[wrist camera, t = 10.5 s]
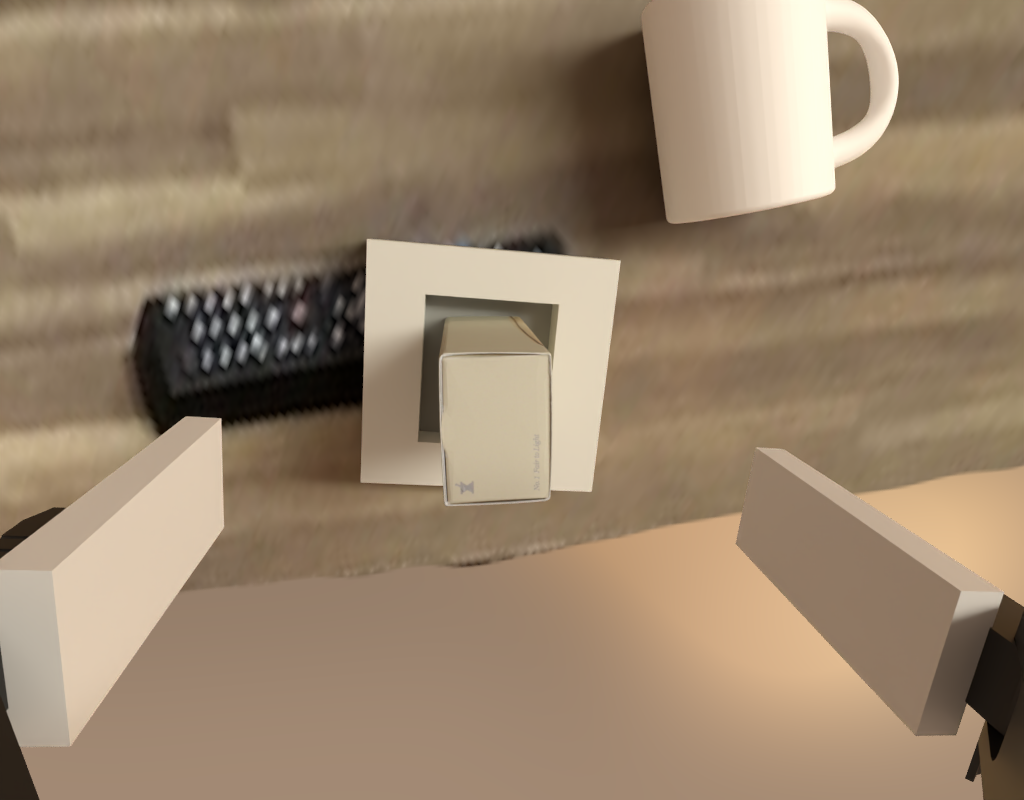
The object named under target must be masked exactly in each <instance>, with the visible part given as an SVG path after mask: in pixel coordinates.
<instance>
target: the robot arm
mask: <svg viewBox="0 0 1024 800" xmlns="http://www.w3.org/2000/svg"><path fill="white" fill-rule="evenodd" d="M223 528H224V509H223V470H222V430H221V418H205V417H187V416H186V417H185V418H183V419H182V420H181V421H179V422H178V423H177V424H175V425H174V426H173V427H171V428H170V429H169V430H168V431H166V432H165V433H164V434H162V435H161V436H160V437H158V438H157V439H156V440H155V441H153V442H152V443H151V444H149V445H148V446H147V447H145V448H144V449H143V450H141V451H140V452H139V453H138V454H136V455H135V456H134V457H132V458H131V459H130V460H128V461H127V462H126V463H125V464H123V465H122V466H121V467H119V468H118V469H117V470H115V471H114V472H113V473H111V474H110V475H109V476H108V477H106V478H105V479H104V480H102V481H101V482H100V483H98V484H97V485H96V486H94V487H93V488H92V489H91V490H89V491H88V492H87V493H85V494H84V495H83V496H81V497H80V498H79V499H78V500H76V501H75V502H74V503H72V504H71V505H70V506H68V507H67V508H52V509H49V510H47V511H44V512H42V513H39V514H37V515H35V516H32V517H30V518H27V519H25V520H23V521H21V522H20V523H18V524H17V525H16V526H14V527H13V528H11V529H10V530H9V531H7V532H6V533H4V534H3V535H2V537H1V539H0V800H39V797H38V795H37V792H36V789H35V787H34V784H33V781H32V779H31V776H30V773H29V771H28V768H27V765H26V762H25V760H24V757H23V755H22V752H21V749H20V747H66V746H67V747H68V746H71V745H72V743H73V742H74V741H75V739H76V738H77V736H78V735H79V733H80V732H81V731H82V729H83V728H84V726H85V725H86V723H87V722H88V721H89V719H90V718H91V716H92V715H93V714H94V712H95V710H96V709H97V707H98V706H99V705H100V704H101V702H102V701H103V699H104V698H105V696H106V695H107V693H108V692H109V691H110V689H111V688H112V686H113V685H114V683H115V682H116V681H117V679H118V678H119V676H120V675H121V674H122V672H123V671H124V669H125V668H126V666H127V665H128V664H129V662H130V661H131V659H132V658H133V656H134V655H135V654H136V652H137V651H138V649H139V648H140V646H141V645H142V644H143V642H144V641H145V639H146V638H147V637H148V635H149V634H150V632H151V631H152V629H153V628H154V627H155V625H156V624H157V622H158V621H159V619H160V618H161V616H162V615H163V613H164V612H165V611H166V609H167V608H168V607H169V605H170V604H171V602H172V601H173V599H174V598H175V597H176V595H177V594H178V592H179V591H180V589H181V588H182V587H183V585H184V584H185V582H186V581H187V579H188V578H189V577H190V575H191V574H192V572H193V571H194V569H195V568H196V567H197V565H198V564H199V562H200V561H201V560H202V558H203V557H204V555H205V554H206V552H207V551H208V550H209V548H210V547H211V545H212V544H213V542H214V541H215V540H216V538H217V537H218V535H219V534H220V532H221V531H222V530H223ZM736 544H737V546H738V547H739V548H740V549H741V550H742V551H743V552H744V553H745V554H746V555H747V556H748V557H749V558H750V560H751V561H752V562H753V563H754V564H755V565H756V566H757V567H758V568H759V569H760V570H761V571H762V572H763V573H764V574H765V575H766V577H767V578H768V579H769V580H770V581H771V582H772V583H773V584H774V585H775V586H776V587H777V588H778V589H779V590H780V592H781V593H782V594H783V595H784V596H785V597H786V598H787V599H788V600H789V601H790V602H791V603H792V604H793V605H794V607H796V609H797V610H798V611H799V612H800V613H801V614H802V615H803V616H804V617H805V618H806V619H807V620H808V621H809V623H810V624H811V625H812V626H813V627H814V628H815V629H816V630H817V631H818V632H819V633H820V634H821V635H822V636H823V637H824V639H825V640H826V641H827V642H828V643H829V644H830V645H831V646H832V647H833V648H834V649H835V650H836V651H837V652H838V654H839V655H840V656H841V657H842V658H843V659H844V660H845V661H846V662H847V663H848V664H849V665H850V666H851V667H852V668H853V670H854V671H855V672H856V673H857V674H858V675H859V676H860V677H861V678H862V679H863V680H864V681H865V682H866V683H867V684H868V686H869V687H870V688H871V689H872V690H873V691H874V692H875V693H876V694H877V695H878V696H879V697H880V698H881V699H882V700H883V702H884V703H885V704H886V705H887V706H888V707H889V708H890V709H891V710H892V711H893V712H894V713H895V714H896V715H897V717H898V718H899V719H900V720H901V721H902V722H903V723H904V724H905V725H906V726H907V727H908V728H909V729H910V730H911V731H912V732H913V734H914V735H916V736H928V735H929V736H931V735H956V734H957V731H958V728H959V725H960V722H961V719H962V716H963V713H964V710H965V707H966V704H968V705H970V706H971V707H972V708H973V709H974V710H975V711H976V712H977V713H979V714H980V715H981V716H982V717H983V718H984V719H985V723H984V726H983V729H982V732H981V735H980V737H979V740H978V743H977V746H976V749H975V752H974V755H973V757H972V760H971V763H970V766H969V769H968V772H967V775H966V777H965V778H966V779H968V780H970V781H972V782H973V781H974V779H975V777H976V775H978V774H981V777H982V787H983V799H984V800H1024V607H1023V606H1021V605H1020V604H1018V603H1017V602H1015V601H1014V600H1012V599H1011V598H1009V597H1008V596H1006V595H1004V592H1003V591H1002V590H1000V589H999V588H997V587H996V586H994V585H992V584H991V583H989V582H988V581H986V580H985V579H983V578H982V577H980V576H979V575H977V574H975V573H974V572H972V571H971V570H969V569H968V568H966V567H965V566H963V565H962V564H960V563H959V562H957V561H955V560H954V559H952V558H951V557H949V556H948V555H946V554H945V553H943V552H942V551H940V550H938V549H937V548H935V547H934V546H932V545H931V544H929V543H928V542H926V541H925V540H923V539H921V538H920V537H918V536H917V535H915V534H914V533H912V532H911V531H909V530H908V529H906V528H905V527H903V526H901V525H900V524H898V523H897V522H895V521H894V520H892V519H891V518H889V517H888V516H886V515H884V514H883V513H881V512H880V511H878V510H877V509H875V508H874V507H872V506H871V505H869V504H867V503H866V502H864V501H863V500H861V499H860V498H858V497H857V496H855V495H854V494H852V493H850V492H849V491H847V490H846V489H844V488H843V487H841V486H840V485H838V484H837V483H835V482H834V481H832V480H830V479H829V478H827V477H826V476H824V475H823V474H821V473H820V472H818V471H817V470H815V469H813V468H812V467H810V466H809V465H807V464H806V463H804V462H803V461H801V460H800V459H798V458H796V457H795V456H793V455H792V454H790V453H789V452H787V451H786V450H784V449H775V448H756V449H755V453H754V458H753V463H752V468H751V473H750V478H749V482H748V487H747V492H746V497H745V502H744V507H743V511H742V516H741V521H740V526H739V531H738V536H737V541H736Z"/></svg>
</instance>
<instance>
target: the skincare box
mask: <svg viewBox="0 0 1024 800" xmlns="http://www.w3.org/2000/svg"><path fill="white" fill-rule="evenodd" d="M439 419H440V442H441V463H442V478H443V494H444V504H445V506H466V505H492V504H513V503H527V502H540V501H547V500H549V498H550V491H551V475H552V359H551V354H550V353H549V351H548V350H547V349H546V348H545V347H544V346H543V344H542V343H541V342H540V341H539V339H538V338H537V337H536V336H535V335H534V333H533V332H532V331H531V330H530V329H529V327H528V326H527V325H526V324H525V323H524V321H523V320H522V319H521V318H520V317H518V316H460V317H447V318H446V319H445V324H444V330H443V336H442V342H441V348H440V354H439Z"/></svg>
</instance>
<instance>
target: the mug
mask: <svg viewBox="0 0 1024 800" xmlns="http://www.w3.org/2000/svg"><path fill="white" fill-rule="evenodd" d="M641 23H642V31H643V39H644V47H645V55H646V63H647V70H648V78H649V86H650V94H651V102H652V110H653V118H654V126H655V133H656V141H657V149H658V157H659V165H660V173H661V181H662V189H663V196H664V204H665V212H666V219H667V221H668V222H669V223H672V224H679V223H689V222H697V221H704V220H711V219H717V218H723V217H729V216H735V215H741V214H746V213H752V212H757V211H762V210H767V209H772V208H777V207H782V206H787V205H791V204H796V203H800V202H805V201H809V200H813V199H817V198H820V197H824V196H826V195H829V194H831V193H832V192H833V191H834V190H835V172H834V168H836V167H839V166H841V165H844V164H846V163H848V162H850V161H852V160H854V159H856V158H857V157H859V156H861V155H862V154H863V153H865V152H866V151H867V150H869V149H870V148H871V147H872V146H873V145H874V144H875V143H876V142H877V140H878V139H879V138H880V137H881V135H882V134H883V132H884V131H885V129H886V127H887V126H888V124H889V122H890V119H891V117H892V114H893V111H894V108H895V105H896V100H897V95H898V69H897V63H896V59H895V55H894V52H893V49H892V47H891V44H890V42H889V40H888V38H887V36H886V34H885V32H884V31H883V29H882V27H881V26H880V24H879V23H878V22H877V20H876V19H875V18H874V17H873V16H872V15H871V14H870V13H869V12H868V11H867V10H866V9H865V8H864V7H862V6H861V5H859V4H857V3H856V2H854V1H852V0H652V1H651V2H650V3H649V4H648V5H647V6H646V7H645V9H644V10H643V12H642V15H641ZM827 31H828V32H838V33H843V34H846V35H848V36H851V37H852V38H854V39H855V40H856V41H857V42H858V43H859V44H860V46H861V47H862V49H863V52H864V54H865V57H866V61H867V65H868V70H869V77H870V89H871V97H870V106H869V110H868V112H867V114H866V116H865V117H864V118H863V120H862V121H861V122H859V123H858V124H857V125H855V126H854V127H852V128H851V129H849V130H847V131H845V132H843V133H841V134H839V135H836V136H834V137H833V135H832V117H831V98H830V80H829V61H828V43H827Z"/></svg>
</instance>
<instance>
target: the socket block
mask: <svg viewBox="0 0 1024 800" xmlns="http://www.w3.org/2000/svg"><path fill="white" fill-rule="evenodd" d="M620 262H621V261H619V260H613V259H607V258H596V257H584V256H573V255H561V254H549V253H538V252H526V251H514V250H503V249H491V248H479V247H467V246H456V245H444V244H432V243H421V242H409V241H397V240H386V239H374V238H373V239H367V257H366V295H365V333H364V371H363V409H362V447H361V483H384V484H409V485H435V486H443V478H442V463H441V442H440V419H439V354H440V348H441V342H442V336H443V330H444V324H445V319H446V318H447V317H460V316H518V317H520V318H521V319H522V320H523V321H524V323H525V324H526V325H527V326H528V327H529V329H530V330H531V331H532V332H533V333H534V335H535V336H536V337H537V338H538V339H539V341H540V342H541V343H542V344H543V346H544V347H545V348H546V349H547V350H548V351H549V353H550V354H551V359H552V475H551V490H561V491H586V492H592V484H593V476H594V468H595V460H596V452H597V444H598V436H599V428H600V420H601V413H602V405H603V397H604V389H605V381H606V373H607V365H608V357H609V349H610V341H611V333H612V325H613V317H614V309H615V301H616V293H617V285H618V278H619V270H620Z"/></svg>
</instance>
